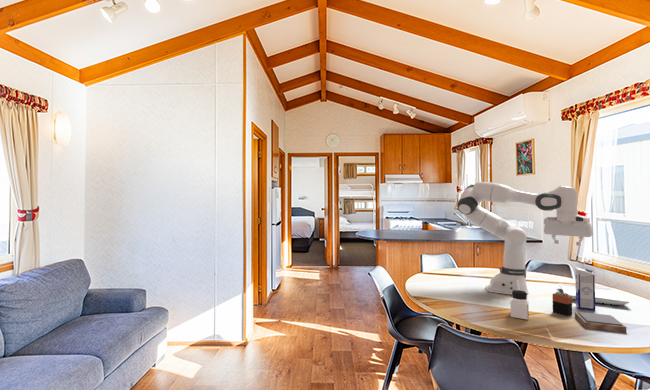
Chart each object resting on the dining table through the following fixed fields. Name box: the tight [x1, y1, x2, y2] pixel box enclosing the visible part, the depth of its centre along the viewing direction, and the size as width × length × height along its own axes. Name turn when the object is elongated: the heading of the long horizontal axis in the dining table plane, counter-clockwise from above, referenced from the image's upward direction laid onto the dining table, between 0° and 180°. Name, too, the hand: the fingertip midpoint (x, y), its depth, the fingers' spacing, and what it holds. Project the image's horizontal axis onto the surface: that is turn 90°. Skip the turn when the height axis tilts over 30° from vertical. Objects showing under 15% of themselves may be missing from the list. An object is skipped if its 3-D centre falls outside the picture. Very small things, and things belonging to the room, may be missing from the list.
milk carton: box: [574, 266, 596, 312], centre depth 169 cm, size 7×7×20 cm
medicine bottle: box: [510, 290, 529, 321], centre depth 158 cm, size 7×7×12 cm
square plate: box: [557, 283, 630, 306], centre depth 188 cm, size 27×27×4 cm
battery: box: [552, 291, 573, 317], centre depth 161 cm, size 4×7×10 cm, turn 30°
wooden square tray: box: [574, 311, 627, 334], centre depth 147 cm, size 14×14×3 cm
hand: (567, 244), depth 171 cm, fingers open, 8 cm apart
